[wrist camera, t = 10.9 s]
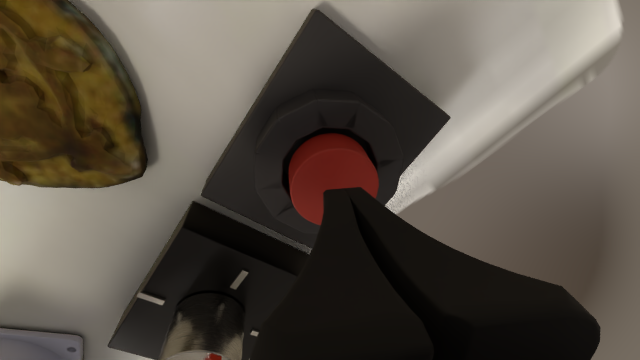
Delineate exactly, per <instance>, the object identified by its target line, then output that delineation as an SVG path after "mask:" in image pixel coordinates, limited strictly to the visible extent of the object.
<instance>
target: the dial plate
mask: <svg viewBox="0 0 640 360" xmlns="http://www.w3.org/2000/svg"><path fill="white" fill-rule="evenodd" d="M308 257H309V255H308V254H306V253H304V252H302V251H300V250H298V249H296V248H293V247H291V246H289V245H287V244H285V243H283V242H280V241H278V240H276V239H274V238H272V237H270V236H268V235H265V234H263V233H261V232H259V231H257V230H255V229H252V228H250V227H248V226H246V225H244V224H242V223H240V222H237V221H235V220H233V219H231V218H229V217H227V216H225V215H222V214H220V213H218V212H216V211H214V210H212V209H209V208H207V207H205V206H203V205H201V204H199V203H197V202H194V201H193V202H192V203H191V204H190V206H189V208H188V209H187V211H186V213H185V214H184V216H183V217H182V219H181V221H180V222H179V224H178V226H177V227H176V229H175V230H174V232H173V234H172V235H171V237H170V239H169V240H168V242H167V243H166V245H165V247H164V248H163V250H162V252H161V253H160V255H159V256H158V258H157V260H156V261H155V263H154V264H153V266H152V268H151V269H150V271H149V273H148V274H147V276H146V277H145V279H144V281H143V282H142V284H141V286H140V287H139V289H138V290H137V292H136V294H135V295H134V297H133V299H132V300H131V302H130V303H129V305H128V307H127V308H126V310H125V311H124V313H123V315H122V317H121V319H120V321H119V323H118V325H117V328H116V330H115V332H114V334H113V336H112V338H111V340H110V342H109V344H108V347H109V348H113V349H117V350H121V351H124V352H128V353H132V354H136V355H139V356H143V357H147V358H151V359H154V360H158V358H159V355H160V352H161V349H162V346H163V343H164V340H165V337H166V334H167V331H168V328H169V325H170V322H171V319H172V316H173V313H174V310H175V308H176V307H177V305H178V304H179V303H180V302H182V301H183V300H184V299H186V298H188V297H190V296H193V295H196V294H201V293H218V294H223V295H226V296H228V297H231V298H232V299H234V300H236V301H237V302H238V303H239V304H240V305H241V306H242V308H243V310H244V312H245V327H244V338H243V348H242V359H241V360H249V359H250V357H251V353H252V350H253V347H254V344H255V341H256V338H257V335H258V333H259V330H260V327H261V325H262V323H263V322H264V320H265V319H266V318H267V317H268V316H269V315H270V313H271V312H272V311H273V310H274V309H275V307H276V306H277V305H278V304H279V303H280V301H281V300H282V299H283V298H284V296H285V295H286V293H287V292H288V290H289V289H290V287H291V286H292V285H293V283H294V282H295V280H296V279H297V277H298V275H299V274H300V272H301V270H302V268H303V267H304V265H305V263H306V261H307V259H308Z"/></svg>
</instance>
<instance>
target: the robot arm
mask: <svg viewBox="0 0 640 360" xmlns="http://www.w3.org/2000/svg"><path fill="white" fill-rule="evenodd" d="M323 210H324V212H323V217H322V222H321V226H320V229H319V232H318V235H317V238H316V241H315V243H314V246H313V248H312V250H311V253H310V255H309V257H308V259H307V261H306V263H305V265H304V267H303V268H302V270H301V272H300V274H299V275H298V277H297V279H296V280H295V282H294V283H293V285H292V286H291V287H290V289H289V290H288V292H287V293H286V295H285V296H284V298H283V299H282V300H281V301H280V303H279V304H278V305H277V306H276V307H275V309H274V310H273V311H272V312H271V313H270V315H269V316H268V317H267V318H266V319H265V320H264V322H263V323H262V325H261V327H260V330H259V333H258V335H257V338H256V341H255V344H254V347H253V350H252V353H251V357H250V360H591V358H592V356H593V354H594V353H595V351H596V349H597V347H598V344H599V342H600V326H599V324H598V323H597V321H596V319H595V318H594V317H593V316H592V315H591V314H590V313H589V312H588V311H587V310H586V309H585V308H584V307H583V306H582V305H581V304H580V303H579V302H578V301H577V300H576V299H575V298H574V297H572V296H571V295H570V294H569V293H568V292H567V291H566V290H565V289H564V288H563V287H562V286H559V285H555V284H552V283H548V282H545V281H541V280H538V279H534V278H531V277H527V276H524V275H520V274H517V273H514V272H511V271H508V270H505V269H502V268H500V267H497V266H494V265H491V264H488V263H486V262H483V261H480V260H478V259H476V258H473V257H471V256H469V255H466V254H464V253H462V252H460V251H457V250H455V249H453V248H451V247H449V246H447V245H445V244H443V243H441V242H439V241H437V240H435V239H434V238H432V237H430V236H428V235H426V234H425V233H423V232H421V231H419V230H418V229H416V228H415V227H413V226H412V225H410V224H409V223H407V222H405V221H404V220H403V219H401V218H400V217H398V216H397V215H396V214H394V213H393V212H392V211H390V210H389V209H388V208H386V207H385V206H384V205H382V204H381V203H380V202H379V201H377V200H376V199H375V198H374V197H373V196H371V195H370V194H369V193H368V192H366V191H365V190H364V189H363V188H361V187H353V188H341V189H329V190H325V191H324V192H323ZM0 360H83V339H82V338H81V337H80V336H78V335H70V334H59V333H48V332H38V331H27V330H16V329H5V328H0Z"/></svg>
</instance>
